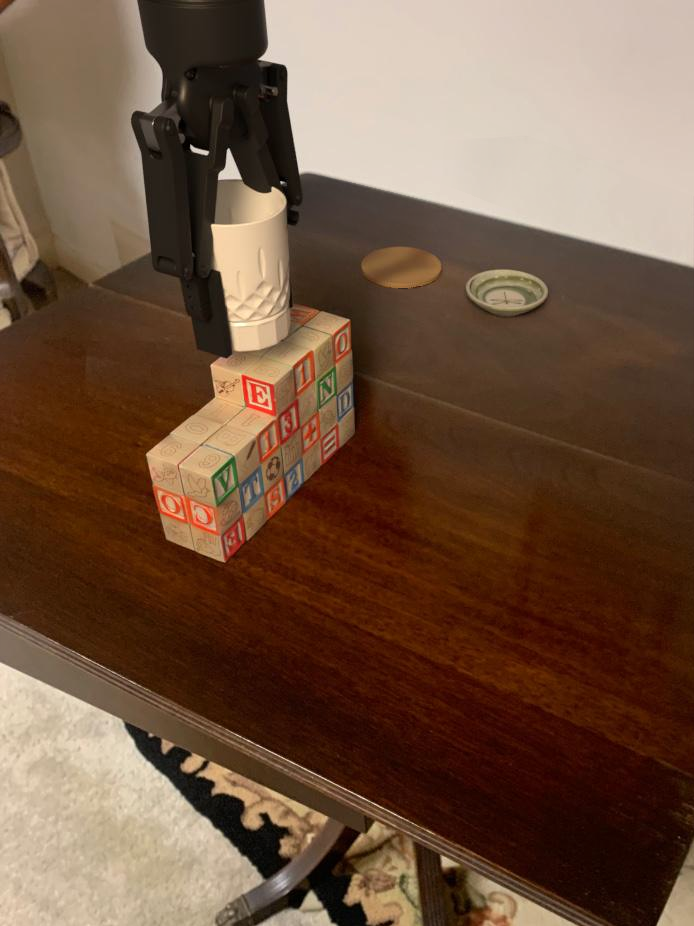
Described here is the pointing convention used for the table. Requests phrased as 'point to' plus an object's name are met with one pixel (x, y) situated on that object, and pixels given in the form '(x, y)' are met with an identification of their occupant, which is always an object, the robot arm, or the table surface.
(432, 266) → the cork coaster
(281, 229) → the white cup
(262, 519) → the stack of blocks
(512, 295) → the saucer
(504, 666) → the table surface
